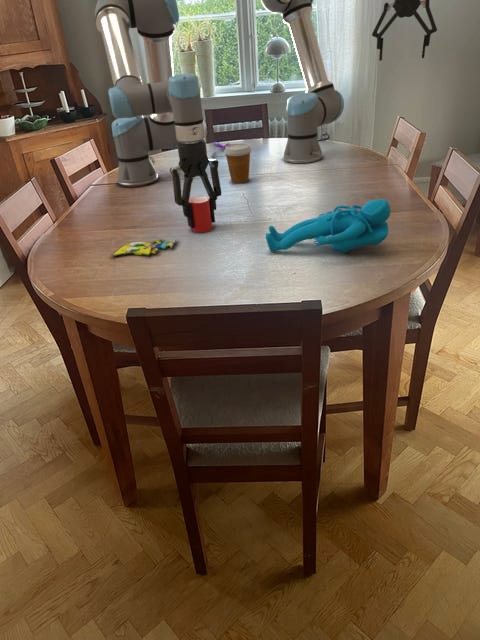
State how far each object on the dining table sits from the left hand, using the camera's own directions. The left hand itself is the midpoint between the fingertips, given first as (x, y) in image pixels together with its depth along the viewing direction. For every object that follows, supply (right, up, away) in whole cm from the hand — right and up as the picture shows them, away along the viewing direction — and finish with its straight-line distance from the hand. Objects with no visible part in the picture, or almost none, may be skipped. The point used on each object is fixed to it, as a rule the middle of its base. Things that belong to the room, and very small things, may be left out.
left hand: (201, 223), depth 138 cm
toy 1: (-14, -9, -8) cm, 19 cm away
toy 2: (+33, -10, -17) cm, 38 cm away
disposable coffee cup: (+11, +23, +36) cm, 44 cm away
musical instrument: (+4, +47, +75) cm, 88 cm away
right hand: (+66, +61, +24) cm, 93 cm away
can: (0, -1, +1) cm, 1 cm away
